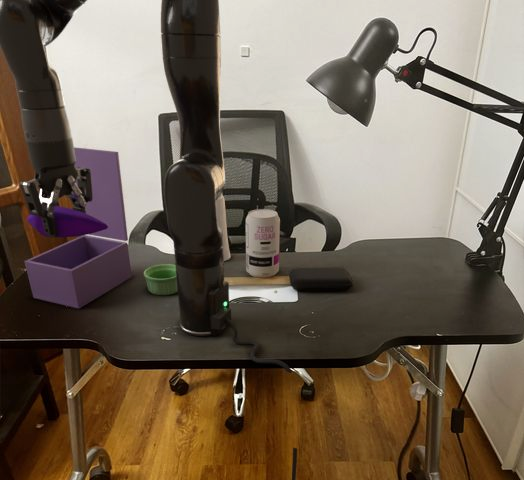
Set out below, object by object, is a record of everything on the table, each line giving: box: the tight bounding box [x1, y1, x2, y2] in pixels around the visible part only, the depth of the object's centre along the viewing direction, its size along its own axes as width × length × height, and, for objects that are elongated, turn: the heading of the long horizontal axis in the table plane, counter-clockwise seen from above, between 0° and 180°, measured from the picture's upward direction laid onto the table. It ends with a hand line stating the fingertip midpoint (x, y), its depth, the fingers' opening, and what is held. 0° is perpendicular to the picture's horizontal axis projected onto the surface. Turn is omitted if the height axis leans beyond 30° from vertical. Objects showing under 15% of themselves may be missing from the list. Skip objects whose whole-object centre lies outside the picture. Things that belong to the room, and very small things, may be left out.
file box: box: [24, 235, 133, 310], centre depth 120 cm, size 19×13×9 cm
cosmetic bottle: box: [216, 193, 231, 262], centre depth 133 cm, size 6×6×22 cm
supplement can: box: [245, 208, 281, 279], centre depth 127 cm, size 8×8×15 cm
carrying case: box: [288, 266, 354, 292], centre depth 124 cm, size 11×3×15 cm
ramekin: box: [143, 263, 178, 296], centre depth 121 cm, size 9×9×4 cm
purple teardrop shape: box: [26, 205, 108, 239], centre depth 97 cm, size 5×5×15 cm
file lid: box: [74, 146, 129, 242], centre depth 122 cm, size 20×13×5 cm
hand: (67, 231), depth 97 cm, fingers closed on purple teardrop shape, 6 cm apart
